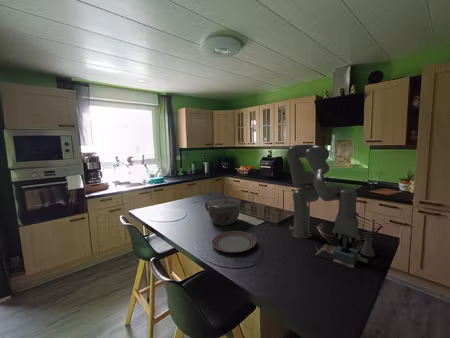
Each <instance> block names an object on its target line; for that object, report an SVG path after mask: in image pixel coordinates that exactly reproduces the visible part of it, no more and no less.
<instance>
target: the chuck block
mask: <svg viewBox="0 0 450 338" xmlns="http://www.w3.org/2000/svg"><path fill="white" fill-rule="evenodd" d="M339 246H340V244H338V246H336V247H337V248H336V249H335V250H334V251H333V259H336V260H339V261H342V262H345V263H348V264H351V265H353V264H354V263H355V261H356V260H357V262H358V261H359V262H362V263H365V264H368V262H369V259H368V258H364V257H361V256H360V257H359V256H358V254H359V250H358V249H354V248H352V247H351V248H350V249H349V250H348V253H345V252H341V249H342V247H339ZM355 264H356V263H355Z"/></svg>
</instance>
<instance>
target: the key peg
mask: <svg viewBox="0 0 450 338" xmlns="http://www.w3.org/2000/svg"><path fill="white" fill-rule="evenodd" d="M348 241H349V236H346V235H342V249H341V252H345V253H348V249H347V244H348Z"/></svg>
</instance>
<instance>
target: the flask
mask: <svg viewBox="0 0 450 338" xmlns="http://www.w3.org/2000/svg"><path fill="white" fill-rule="evenodd" d="M364 239H365V241H364V244H363V246H362V248H361V249H360V253H361V255H364V256H367V257H374V256H376V253H375V251H374V249H373V244H372V239H373V238H372V236H371V237H370V236H364Z"/></svg>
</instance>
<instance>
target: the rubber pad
mask: <svg viewBox="0 0 450 338" xmlns="http://www.w3.org/2000/svg"><path fill="white" fill-rule="evenodd" d="M316 257H319V258H322V259H324V260H328V261H331V262H332V259H333V254H332V253H329V252H326V251H323V250H322V251H321V252H320V253H319V254H318V255H316Z"/></svg>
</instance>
